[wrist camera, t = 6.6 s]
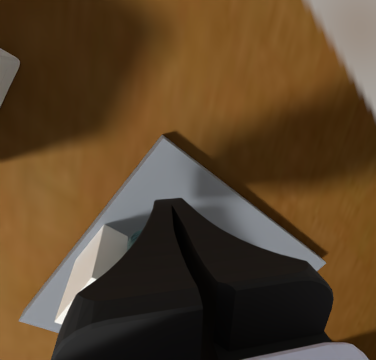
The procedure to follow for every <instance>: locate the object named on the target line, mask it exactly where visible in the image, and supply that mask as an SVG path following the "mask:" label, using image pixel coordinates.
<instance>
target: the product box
mask: <svg viewBox="0 0 376 360" xmlns="http://www.w3.org/2000/svg"><path fill="white" fill-rule="evenodd" d="M19 66H20V61H19V59H18V58H16V57H15V56H13V55H11V54H9V53H8V52H6V51H4V50H2V49H1V48H0V107H1V105H2V102H3V100H4V98H5V96H6V94H7V91H8V89H9V87H10V85H11V83H12V81H13V79H14V77H15V75H16V73H17V71H18V69H19Z"/></svg>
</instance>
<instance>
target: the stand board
mask: <svg viewBox="0 0 376 360" xmlns="http://www.w3.org/2000/svg"><path fill="white" fill-rule="evenodd" d="M171 198H183V199H184V200H185V201H186V202H187V203H188V204H189V205H190V206H191V207H193V208H194V209H195V210H196V211H197V212H198V213H200V214H201V215H202V216H203V217H205V218H206V219H207V220H209V221H210V222H211V223H213V224H214V225H216V226H217V227H219V228H221V229H222V230H224V231H226V232H228V233H229V234H231V235H233V236H235V237H237V238H239V239H241V240H243V241H246V242H248V243H250V244H252V245H255V246H258V247H260V248H263V249H266V250H269V251H272V252H275V253H278V254H282V255H285V256H289V257H293V258H297V259H301V260H305V261H307V262H308V263H309V264H310V265H311V266H312V267H313V268H314V269H315V270H316V271H318V270H319V269H320V268H321V267H322V266H323V265H324V264H326V262H325V261H324V260H323V259H322V258H321V257H320V256H319V255H317V254H316V253H315V252H313V251H312V250H311V249H310V248H308V247H307V246H306V245H304V244H303V243H302V242H301V241H299V240H298V239H297V238H295V237H294V236H293V235H291V234H290V233H289V232H288V231H286V230H285V229H284V228H282V227H281V226H280V225H279V224H277V223H276V222H275V221H273V220H272V219H271V218H270V217H268V216H267V215H266V214H264V213H263V212H262V211H260V210H259V209H258V208H257V207H255V206H254V205H253V204H251V203H250V202H249V201H248V200H246V199H245V198H244V197H242V196H241V195H240V194H238V193H237V192H236V191H235V190H233V189H232V188H231V187H229V186H228V185H227V184H226V183H224V182H223V181H222V180H220V179H219V178H218V177H217V176H215V175H214V174H213V173H211V172H210V171H209V170H207V169H206V168H205V167H204V166H202V165H201V164H200V163H198V162H197V161H196V160H195V159H193V158H192V157H191V156H189V155H188V154H187V153H185V152H184V151H183V150H182V149H180V148H179V147H178V146H176V145H175V144H174V143H173V142H171V141H170V140H169V139H167V138H166V137H165V136H163V135H161V137H160V138H159V139H158V140H157V142H156V143H155V144H154V145H153V147H152V148H151V149H150V151H149V152H148V153H147V154H146V156H145V157H144V158H143V159H142V161H141V162H140V163H139V165H138V166H137V167H136V168H135V170H134V171H133V172H132V173H131V175H130V176H129V177H128V178H127V180H126V181H125V182H124V184H123V185H122V186H121V187H120V189H119V190H118V191H117V192H116V194H115V195H114V196H113V198H112V199H111V200H110V201H109V203H108V204H107V205H106V206H105V208H104V209H103V210H102V212H101V213H100V214H99V215H98V217H97V218H96V219H95V220H94V222H93V223H92V224H91V226H90V227H89V228H88V229H87V231H86V232H85V233H84V234H83V236H82V237H81V238H80V239H79V241H78V242H77V243H76V245H75V246H74V247H73V248H72V250H71V251H70V252H69V253H68V255H67V256H66V257H65V259H64V260H63V261H62V262H61V264H60V265H59V266H58V267H57V269H56V270H55V271H54V273H53V274H52V275H51V276H50V278H49V279H48V280H47V281H46V283H45V284H44V285H43V286H42V288H41V289H40V290H39V292H38V293H37V294H36V295H35V297H34V298H33V299H32V300H31V302H30V303H29V304H28V306H27V307H26V308H25V309H24V311H23V313H22V315H21V317H20V319H19V321H20V322H24V323H27V324H30V325H34V326H37V327H40V328H44V329H47V330H50V331H54V332H57V333H59V331H60V328H61V326H62V324H58V323H55V322H54V321H55V318H56V315H57V312H58V309H59V306H60V304H61V301H62V298H63V295H64V292H65V289H66V286H67V283H68V280H69V277H70V275H71V272H72V269H73V266H74V263H75V260H76V259H77V257H78V256H79V255H80V254H81V252H82V251H83V250H84V249H85V247H86V246H87V245H88V244H89V242H90V241H91V240H92V239H93V237H94V236H95V235H96V234H97V232H98V231H99V230H100V229H101V227H102V226H103V225H104V224H105V225H107V226H109V227H111V228H113V229H115V230H116V231H118V232H120V233H122V234H124V235H126V236H128V240H129V239H130V237H131V236H132V235H133V234H134V233H136V232H138V231H140V230H143V228H144V227H145V225H146V223H147V221H148V219H149V217H150V214H151V212H152V209H153V205H154V201H155V200H159V199H171ZM127 243H128V242H127Z"/></svg>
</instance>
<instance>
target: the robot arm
mask: <svg viewBox="0 0 376 360" xmlns="http://www.w3.org/2000/svg"><path fill="white" fill-rule="evenodd" d="M332 304H333V292H332V289H331V288H330V286H329V285H328V283H327V282H326V281H325V280H324V279H323V278H322V277H321V276H320V275H319V273H318V272H317V271H316V270H315V269H314V268H313V267H312V266H311V265H310V264H309V263H308V262H307V261H305V260H301V259H297V258H293V257H289V256H285V255H282V254H278V253H275V252H272V251H269V250H266V249H263V248H260V247H258V246H255V245H252V244H250V243H248V242H246V241H243V240H241V239H239V238H237V237H235V236H233V235H231V234H229V233H228V232H226V231H224V230H222V229H221V228H219V227H217V226H216V225H214V224H213V223H211V222H210V221H209V220H207V219H206V218H205V217H203V216H202V215H201V214H200V213H198V212H197V211H196V210H195V209H194V208H193V207H191V206H190V205H189V204H188V203H187V202H186V201H185V200H184V199H183V198H171V199H159V200H155V201H154V205H153V209H152V212H151V214H150V217H149V219H148V221H147V223H146V225H145V227H144V228H143V230H142V232H141V233H140V235H139V236H138V238H137V239H136V241H135V242H134V243H133V245H132V246H131V247H130V249H129V250H128V251H127V252H126V253H125V254H124V255H123V257H122V258H121V259H120V260H119V261H118V262H117V263H116V264H115V265H114V266H112V267H111V268H110V269H109V270H108V271H107V272H106V273H105V274H103V275H102V276H101V277H99V278H98V279H97V280H95V281H94V282H93V283H91V284H90V285H88V286H87V287H86V288H84V289H83V290H81V291H80V292H78V293H77V294H76V296H75V298H74V299H73V301H72V304H71V306H70V308H69V310H68V312H67V314H66V316H65V318H64V321H63V323H62V326H61V328H60V331H59V334H58V338H57V341H56V345H55V348H54V351H53V355H52V358H51V360H369V359H368V358H367V357H366V355H365V354H364V353H363V352H362V351H360V350H359V349H358V348H356V347H355V346H354V345H353V344H349V343H345V342H332V341H331V340H330V339H329V337H328V336H327V334H326V333H325V332H324V329H325V326H326V323H327V321H328V318H329V315H330V312H331V309H332Z"/></svg>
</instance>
